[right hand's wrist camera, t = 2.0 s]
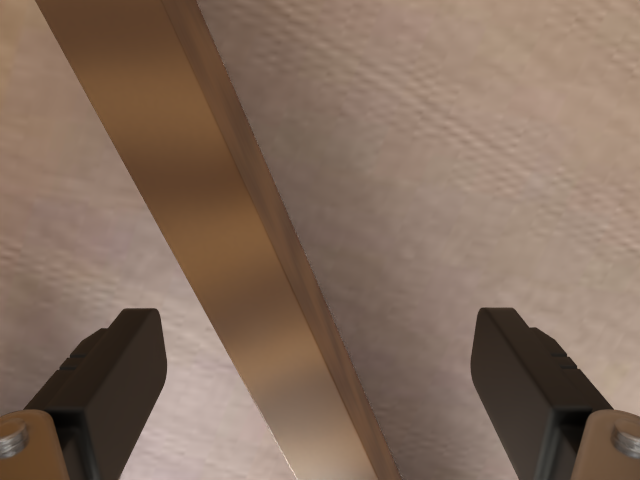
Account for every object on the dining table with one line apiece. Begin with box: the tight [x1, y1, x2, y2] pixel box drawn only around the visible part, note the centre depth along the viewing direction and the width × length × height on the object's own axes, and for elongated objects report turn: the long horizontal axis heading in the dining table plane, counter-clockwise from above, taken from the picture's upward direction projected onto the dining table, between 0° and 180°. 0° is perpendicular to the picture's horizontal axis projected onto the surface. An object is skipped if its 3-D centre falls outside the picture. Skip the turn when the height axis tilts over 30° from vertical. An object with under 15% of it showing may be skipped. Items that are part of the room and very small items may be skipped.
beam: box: [35, 0, 402, 480], centre depth 33 cm, size 72×5×8 cm, turn 21°
